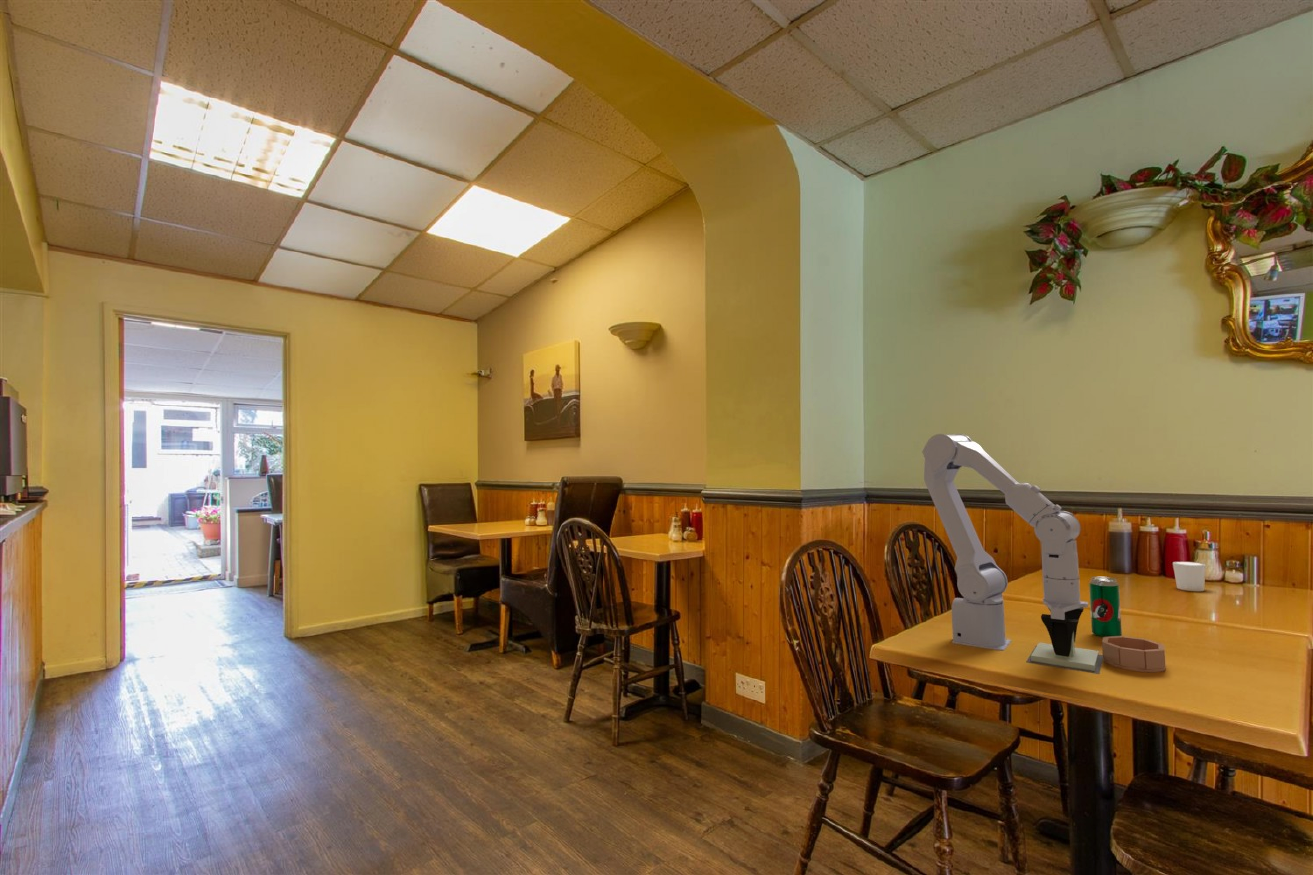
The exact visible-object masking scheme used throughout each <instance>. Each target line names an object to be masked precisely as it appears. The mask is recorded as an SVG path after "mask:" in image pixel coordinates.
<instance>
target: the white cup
mask: <svg viewBox="0 0 1313 875" xmlns="http://www.w3.org/2000/svg"><path fill="white" fill-rule="evenodd" d="M1172 568H1173V572H1174V578H1175V583H1176V588H1177V589H1178V590H1181V591H1189V592H1203V591H1205V583H1206V582H1205V581H1206V580H1205V579H1206V564H1205V563H1201V562H1196V561H1195V562H1194V561H1173V562H1172Z"/></svg>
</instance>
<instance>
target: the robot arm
mask: <svg viewBox="0 0 1313 875" xmlns="http://www.w3.org/2000/svg"><path fill="white" fill-rule="evenodd" d="M922 455H923V457H924V468H923V469H924V472H923V480H924V484H925V485H926V487H927V490H928V492H929V493H928V494H929V495H930V497H931V499H932V502H933V504H934V506H935V509H936V511H937V513H938V516H939V518H940V521H941V523H942V525H943V528H944V530H945V532H946V535H947V537H948V539H949V542H950V543H951V546H952V549H953V551H954V553H955V556H956V560H955V561H956V562H955V566H954V571H955V573H956V577H957V579H956V580H957V582H956V584H957V589H958V592H959V593H960V595H961V596H962V597H963V598H962V597H954V599H953V601H952V604H951V623H952V626H951V628H952V644H956V645H957V644H958V645H963V646H970V647H976V648H982V649H989V650H994V651H1005V650H1006V648H1007V647H1009V645H1010V643H1011V642H1012V640H1011V639H1010V638H1006V626H1005V625H1006V624H1005V623H1006V622H1005V607H1004V597H1003V593H1005V591H1006V590H1007V587H1008V584H1009V582H1008V576H1007V575H1006V573H1005V572H1004V570H1002V569H1001V568H1000V567H999V566H998V565H997V563H996V561H995V559H994V558H993V556H992V555H990V554H989V553H988V552H987V551H985V549H984V548H983V545H982V542H981V541H980V539H979V536H978V534H977V532H976V530H975V527H974V524H973V522H972V520H971V518H970V515H969V514H968V511H967V508H966V506H965V504H964V502H963V500H962V498H961V496H960V493H959V491H958V488H957V486H956V485H955V482H954V480H955V478H956V476H957V474H958V472H959V470H960V469H961V468H962V467H965V468H969V469H973V470H974V471H975V472H977V473H978V474H980V475H981V477H983V478H984V479H986V480H987V481H988V482H989V483H990V484H992V485H993V486H994V487H996V489H998V490H999V491H1001V492H1002V493H1003V494H1004V499H1005V504H1006V505H1007V506H1008V507H1009V508H1010V509H1012V511H1013V512H1015V514H1017V515H1018V516H1020V517H1021V518H1022V520H1024V521H1025V522H1026V523H1028V525H1030V526H1031V527H1033V528H1034V529H1033V530H1034V535H1035V537H1036V538H1037V539H1038V540H1039V541H1040V547H1041V549H1040V550H1041V551H1040V552H1041V567H1042V568H1041V569H1042V585H1043V586H1042V587H1043V598H1042V603H1043V605H1045V607H1047V609H1048V610H1049V613H1050V614H1048V613H1047V614H1046V613H1042V614H1041V615H1040V618H1041V621H1042V623H1043V625H1044V626H1045V628H1046V629H1047V630H1046V631H1047V632H1048V635H1049V638H1050V641H1051V644H1052V646H1053V649H1054V652H1055V654H1056V655H1059V656H1066V657H1069V655H1070V651H1071V643H1072V636H1073V632H1074V644H1075V642H1076V638H1077V631H1078V630H1077V629H1078V624H1079V621H1080V619H1081V615H1082V614H1083V612H1084V608H1089V602H1088V601H1082V600H1081V588H1080V573H1079V572H1080V571H1079V556H1078V555H1079V554H1078V548H1077V547H1078V545H1077V538H1078V537H1079V535H1080V533H1081V524H1080V522H1079V520H1078V519H1077V517H1075V515H1074V513H1071V512H1069V511H1065V510H1062V508H1063V507H1061V506H1060V505H1059V504H1054V503H1053V502H1052V501H1050V500H1049V499H1048V498H1047V497H1046V496H1045V495H1043V494H1042V492H1041V491H1042V489H1041V488H1040V487H1039V486H1038V485H1037V484H1036V485H1032V484H1031V483H1028V482H1019V481H1017V480H1016V479H1015V478H1014V477H1013V476H1012V475H1011V474H1010V473H1009V472H1008V471H1007V470H1005V469H1004V468H1003V467H1002V465H1001V464H999V463H998V462H997V461H996V460H995V459H994V458H993V457H991V456H990V455H989V454H988V453H987V452H986V451H985V450H984V448H982V446H981V445H980V444H979V443H977V442H976V441H973V440H972V439H971V438H970V436H968V435H966V434H963V433H956V434H944V433H937V434H934V435H932V436H931V437H930V438H928V440H927V442H926V443H925V445H924V447H923V449H922Z"/></svg>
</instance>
